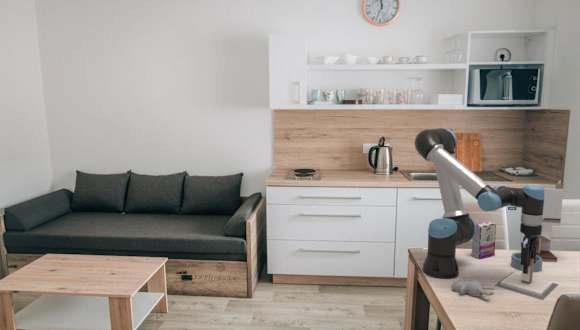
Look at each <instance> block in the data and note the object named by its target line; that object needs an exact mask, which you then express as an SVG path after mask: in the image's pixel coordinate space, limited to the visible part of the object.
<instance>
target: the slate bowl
mask: <svg viewBox="0 0 580 330" xmlns="http://www.w3.org/2000/svg"><path fill="white" fill-rule="evenodd" d="M534 261H536V263H534V265H533V273H540V272H542V269H543V262H544V261H543V260H542V258H541V257H539V256H537V255H536V260H534ZM520 263H521V251H520V252H519V251H518V252H513V253H511V259H510V265H511V267H512V268H513V269H515V270H518V271H521V272H522V266H523V265H521V264H520Z"/></svg>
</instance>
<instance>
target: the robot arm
mask: <svg viewBox="0 0 580 330" xmlns="http://www.w3.org/2000/svg"><path fill="white" fill-rule="evenodd" d="M457 144H458V139H457V136H456V134H455V133H454V132H453V131H452V130H450V129H448V128H443V127H440V128H439V127H438V128H432V129H430V128H429V129H423V130H421V131H420V132H419V133H417V135H416V137H415V139H414V147H415V150H416V152H417V153H418V154H419V155H420V157H422V158H423V159H424V160H426V162H427V163H432V164H433V165H434V170H435V175H436V179H437V182H438V186H439V187H438V188H439V191H440V192H439V193H440V197H441V201H442V206H443V211H444V213H443V215H442V216H441V218H435V219H433V220H431V221H430V222H429V224H428V229H427V231H428V232H427V234H428V237H427V254H426V257H425V259H424V262H423V265H422V271H423V273H425V275H427V276H430V277H433V278H437V279H441V280H442V279H446V280H447V279H448V280H449V279H455V278H457V277H458V276H459V273H460V269H459V265H458V262H457V258H456V253H457V252H456V250H457V249H456V248H457V247H458V246H460V245H462V244H465V243H468V242H470V241H471V240H472V239H473V238H474V236H475V235H476V232H477V226H476V224H477V223H476V222H475V220H474V219H473V218H472V217H470V214H469V213H470V212H469V211H467V210H466V209H465V207H464V203H463V197H462V194H461V189H460V187H461V188H463V190H465V192H467V193H468V194H470V195H471V196H472V197H473V198H474V199H475V200H477V206H478V207H479V209H480V210H482V211H484V212H495V211H497V210H499V209H502V208H505V207H508V206H511V207H516V208H521V212H520V213H521V215H520V229H519V231H520V233H521V234H523V235H524V236H523V239H522V241H521V243H520V249H521V250H520V252H521V263H520V264H521V265H523V266H522V271H521V274H522V279H521V280H524V281H528V282H529V278H530V258H532V259H534V260H536V252H537V243H538V239H539V237H537V235H541V232H542V226H541V224H542V220H544V218H543V217H542V216H543V207H544V199H545V197H544V188H543V187H542V186H538V185H539V184H535V185H529V184H525V185H523V187H522V188H517V187H511V186H510V187H509V186H505V185H495V186H493V187H492V186H491V185H489V184H488V183H487V182H486V181H484V179H482V178H481V177H479V175H477V174H476V173H475V172H473V171H472V170H471V169H469V168H468V167H467V166H466V165H465V164H463V163H462V162H461V161H460V160H458V159H457V158H456V157H455V155H456V151H455V149H456V147H457V146H458V145H457ZM534 263H536V261H534ZM534 263H533V265H534ZM533 275H534V274H533ZM533 275H532V277H534V276H533Z"/></svg>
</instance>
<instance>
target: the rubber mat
mask: <svg viewBox="0 0 580 330" xmlns="http://www.w3.org/2000/svg"><path fill="white" fill-rule="evenodd" d="M512 273H513V271H511V273H509V274H508V275H506V276H505V277H504V278H502V279H501V280H499V281H498V282H497V283H495V284H494V285H493V286H494V287H498V288H502V289H504V290H507V291H510V292H515V293H516V294H517V293H518V294H520V295H525V296H528V297H532V298H534V299H536V300H537V299H538V300H541V301H543V300H545V299H546V298H547V297H548V295H550V294H551V293H552V292H553V291H554V290H555V289H556V288H557V287H558V286H559V285H560V284H558V283H555V282H553V285H552V286H551V287H550V288H549V289H548V290H547V291H546V292H545V293H544V294H543V295H542V296H541V297H540V296H537V295H533V294H530V293H526V292H523V291H520V290H516V289H513V288H509V287H506V286H502V285H500V282H501V281H503V280H504V279H505V278H507V277H508V276H509V275H511V274H512Z"/></svg>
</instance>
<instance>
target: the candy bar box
mask: <svg viewBox="0 0 580 330" xmlns="http://www.w3.org/2000/svg"><path fill="white" fill-rule="evenodd" d="M476 226H477V232H476V235H475V236H474V238H473V239H471V240H472V242H471V244H472V245H471V257H473V258H475V259H478V260H483V259H485V258H489V257H492V256H493V257H494V256H495V250H496V234H497V233H496V230H497V223H495V222H493V221H484V222H483V221H482V222H480V223H479V222H478V223H476Z"/></svg>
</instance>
